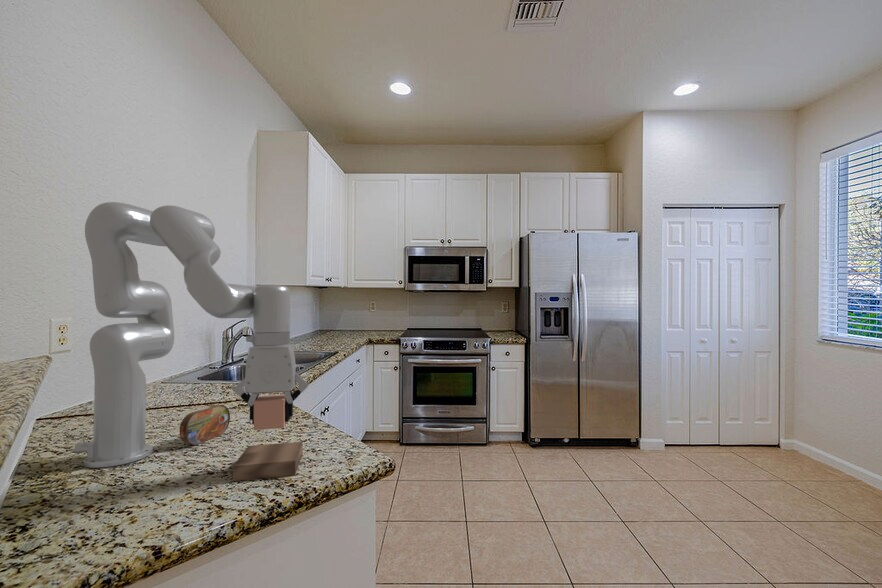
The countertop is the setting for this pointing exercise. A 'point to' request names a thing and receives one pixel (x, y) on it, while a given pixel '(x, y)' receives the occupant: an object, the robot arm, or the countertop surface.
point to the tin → (204, 424)
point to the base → (268, 461)
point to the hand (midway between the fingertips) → (271, 420)
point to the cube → (269, 412)
